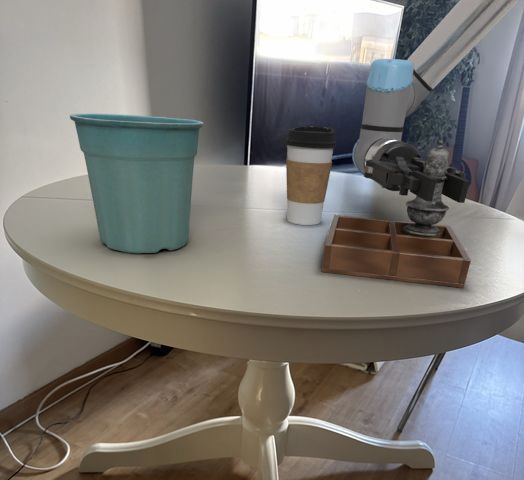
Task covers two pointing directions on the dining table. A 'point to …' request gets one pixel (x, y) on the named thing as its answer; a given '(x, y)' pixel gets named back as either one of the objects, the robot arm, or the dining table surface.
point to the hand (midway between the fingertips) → (447, 191)
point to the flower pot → (139, 178)
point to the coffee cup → (308, 172)
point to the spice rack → (394, 252)
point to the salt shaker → (435, 210)
